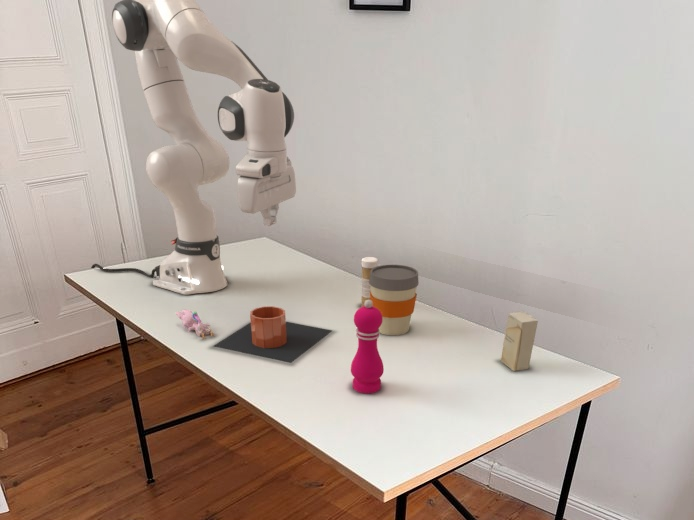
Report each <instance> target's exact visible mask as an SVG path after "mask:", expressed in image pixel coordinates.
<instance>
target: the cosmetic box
mask: <svg viewBox="0 0 694 520" xmlns="http://www.w3.org/2000/svg"><path fill="white" fill-rule="evenodd" d="M538 323H539V320H538V319H537V318H535V317H534V316H532V315H531V314H529V313H527V312H526V311H524V310H521V311H514V312H513V311H512V312H508V315H507V321H506V327H505V333H504V339H503V345H502V350H501V355H500V362H501V363H502V364H504V365H505V366H506V367H508V368H509V369H510V370H511V371H513V372H516V371H517V372H518V371H524V370H528V369H529V368H530V364H531V358H532V354H533V348H534V344H535V343H534V342H535V339H536V333H537V328H538Z"/></svg>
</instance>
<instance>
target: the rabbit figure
mask: <svg viewBox="0 0 694 520" xmlns="http://www.w3.org/2000/svg"><path fill="white" fill-rule="evenodd" d="M175 314H176V316H177V317H178V318H179V320H181V321H182V327H184V328H185V329H187V332H190V331H195V333H196V336H197V337H199V338H201V339H202V340H203V339H206V337H205V336H209V335H210V337H215V336H214V333H213V330H212V329H211V328H209V326H211V324H210V323H203V322H202V319H201V318H200V316H199V315H198V313H197V311H192V310H190V309H183V310H181V311H176V312H175Z"/></svg>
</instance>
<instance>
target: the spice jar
mask: <svg viewBox="0 0 694 520" xmlns="http://www.w3.org/2000/svg"><path fill="white" fill-rule="evenodd" d="M360 265H361V284H360V285H361V288H360V289H361V290H360V291H361V293H360V294H361V303H360V306H361V307H363V306H365V305H364V303H365V301H366V300H370V292H371V285H370V284H369V278H370V271H371V269H373V268H374V267H377V266H379V259H378V257H373V256H365V257H362V258H361V264H360Z"/></svg>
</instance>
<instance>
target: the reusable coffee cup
mask: <svg viewBox="0 0 694 520" xmlns="http://www.w3.org/2000/svg"><path fill="white" fill-rule="evenodd" d="M369 284H370V285H371V292H370V300H371V301H372V302H373V307H375V308H377V309H378V310H379V311H380V312H381V314H382V319H383V320H382V324H381V326H380V327H379V330H380V332H379V334H382V335H386V336H400V335H404V334H406V333H407V332H409V330H410V325H411V321H412V319H411V318H412V315H413V313H414V312H415V308H416V307H415V306H416V303H417V296H418V294H417V288H418V286H419V271H418V270H417V269H416V268H414V267H412V266H409V265H403V264H382V265H378V266H377V267H374V268H373V269H371V271H370V278H369Z"/></svg>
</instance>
